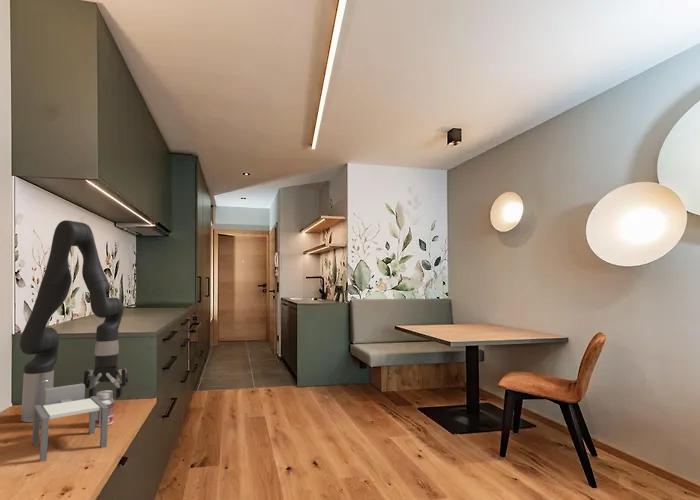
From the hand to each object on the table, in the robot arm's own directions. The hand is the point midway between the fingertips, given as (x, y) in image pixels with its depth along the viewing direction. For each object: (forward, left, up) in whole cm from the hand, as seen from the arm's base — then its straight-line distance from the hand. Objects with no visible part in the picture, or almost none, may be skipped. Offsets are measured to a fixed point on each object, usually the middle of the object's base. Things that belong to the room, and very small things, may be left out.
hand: (105, 398), depth 156 cm
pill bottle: (0, 0, -9) cm, 9 cm away
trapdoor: (+12, -13, +2) cm, 18 cm away
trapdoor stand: (+15, -13, -9) cm, 22 cm away
